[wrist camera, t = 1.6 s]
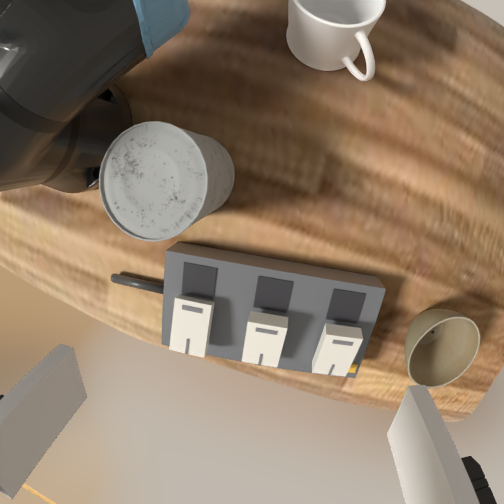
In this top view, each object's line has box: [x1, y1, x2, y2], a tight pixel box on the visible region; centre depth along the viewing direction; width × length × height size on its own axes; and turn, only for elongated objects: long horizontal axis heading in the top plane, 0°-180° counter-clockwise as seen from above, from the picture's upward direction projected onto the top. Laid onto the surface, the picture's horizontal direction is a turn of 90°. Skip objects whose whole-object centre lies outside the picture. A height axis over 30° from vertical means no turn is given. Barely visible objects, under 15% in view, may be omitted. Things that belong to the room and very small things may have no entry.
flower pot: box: [405, 309, 480, 388], centre depth 34 cm, size 10×10×7 cm
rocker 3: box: [312, 323, 363, 377], centre depth 33 cm, size 4×6×2 cm, turn 171°
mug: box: [286, 0, 386, 81], centre depth 24 cm, size 12×8×12 cm
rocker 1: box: [169, 295, 215, 358], centre depth 34 cm, size 4×6×2 cm, turn 171°
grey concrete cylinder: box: [99, 121, 235, 242], centre depth 29 cm, size 10×10×12 cm
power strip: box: [111, 242, 386, 378], centre depth 37 cm, size 33×12×4 cm, turn 81°
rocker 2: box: [242, 311, 288, 367], centre depth 33 cm, size 4×6×2 cm, turn 171°
